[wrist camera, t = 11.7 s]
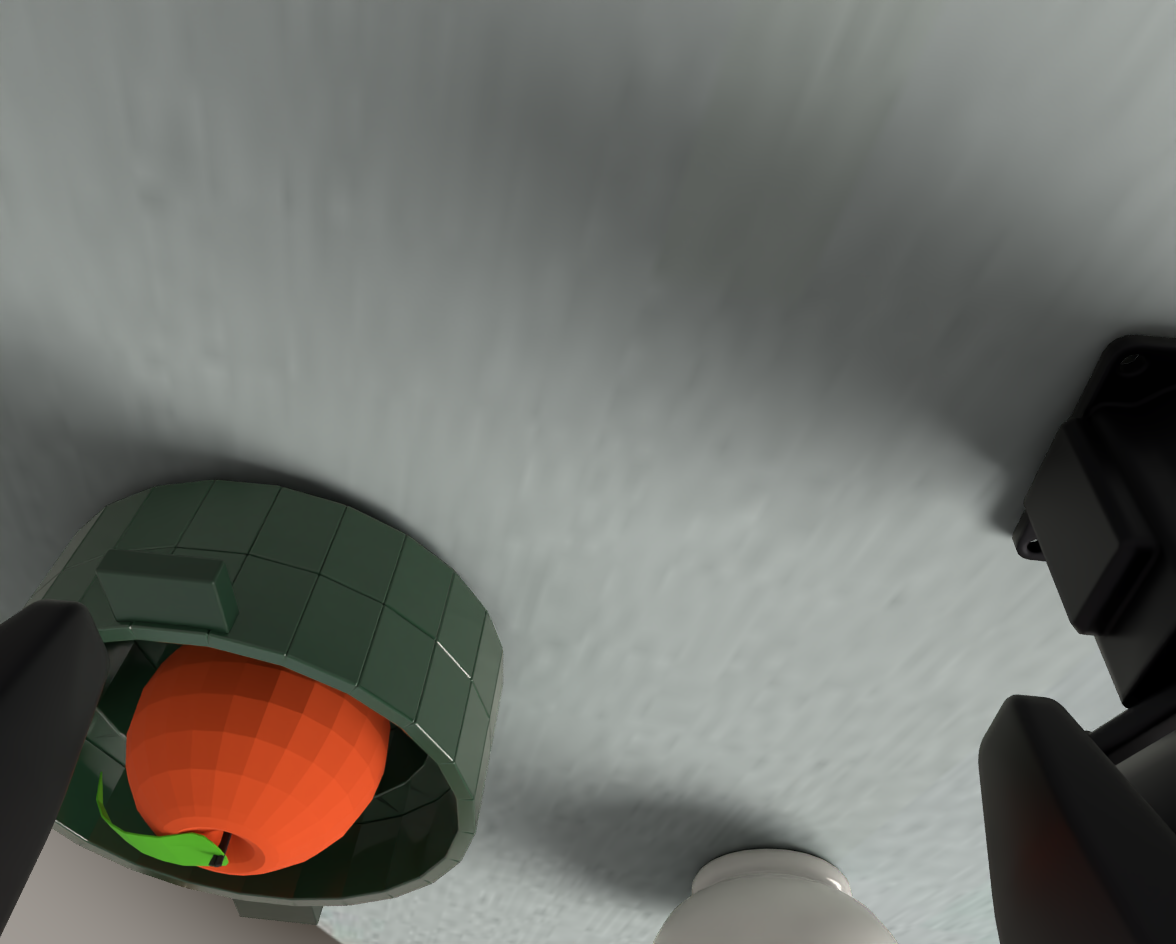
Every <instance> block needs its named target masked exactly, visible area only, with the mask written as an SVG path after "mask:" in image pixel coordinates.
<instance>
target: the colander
mask: <svg viewBox="0 0 1176 944" xmlns="http://www.w3.org/2000/svg"><path fill="white" fill-rule="evenodd" d="M109 549H121V550H131V551H141V552H151V553H161V554H171V555H181V556H190V557H200V558H210V559H220V560H224V561H225V564H226V567H227V571H228V574H229V578H230V581H231V585H232V588H233V592H234V595H235V599H236V602H237V606H238V609H239V615H238V617H237V619H236V621H235V623H234V625H233V627H232V629H231V631H230V632H229V633H223V632H219V631H215V630H209V629H204V628H194V627H184V626H175V625H165V624H155V623H145V622H136V621H134V622H130V621H127V622H116V620H115V617H114V615H113V613H112V610H111V608H110V606H109V603H108V601H107V598H106V596H105V594H104V591H103V589H102V587H101V584H100V582H99V579H98V577H97V575H96V572H95V570H96V567H97V566H98V564H99V563H100V561H101V560H102V558H103V557H104V555H105V553H106V552H107V550H109ZM42 599H55V600H66V601H76V602H80V603H82V604H83V605H85V606H86V607H87V608H88V610H89V611H90V614H91V616H92V618H93V620H94V623H95V625H96V627H97V629H98V631H99V634H100V636H101V638H102V640H103V642H104V645H105V647H106V649H107V652H108V657H109V669H108V674H107V678H106V681H105V684H104V687H103V690H102V692H101V695H100V698H99V701H98V704H97V707H96V709H95V712H94V715H93V718H92V721H91V724H90V726H89V729H88V732H87V735H86V738H85V741H84V743H83V746H82V749H81V752H80V755H79V758H78V760H77V763H76V766H75V769H74V772H73V775H72V777H71V780H70V783H69V786H68V789H67V792H66V794H65V797H64V800H63V802H62V805H61V807H60V810H59V813H58V815H57V818H56V820H55V822H54V825H53V827H52V829H54V830H56V831H57V832H59V833H60V834H62V835H63V836H65V837H67V838H68V839H70V840H71V841H73V842H74V843H76V844H79V846H82V847H84V848H86V849H88V850H90V851H92V852H95V853H97V854H99V855H101V856H103V857H105V858H107V859H109V860H111V861H114V862H116V863H118V864H120V865H122V866H124V867H126V868H130V869H131V870H134V871H137V872H140V873H143V874H146V875H149V876H152V877H155V878H158V879H161V880H164V881H167V882H169V883H173V884H175V885H179V886H181V887H186V888H188V889H193V890H197V891H202V892H207V893H211V894H216V895H220V896H225V897H229V898H233V899H238V900H244V901H253V902H262V903H271V904H280V905H289V906H347V905H355V904H361V903H367V902H373V901H379V900H386V899H392V898H396V897H398V896H401V895H404V894H406V893H409V892H412V891H414V890H417V889H419V888H422V887H425V886H427V885H430V884H432V883H434V882H435V881H437V880H438V879H439V878H440V877H442V876H443V875H444V874H446V873H447V872H448V871H449V870H451V869H452V868H453V867H455V866H456V865H457V864H458V863H460V861H461V860H462V859H463V857H464V855H465V853H466V851H467V849H468V847H469V845H470V843H471V841H472V839H473V837H474V835H475V833H476V829H477V824H478V818H479V813H480V807H481V802H482V796H483V791H484V786H485V780H486V775H487V769H488V764H489V758H490V752H491V747H492V742H493V737H494V731H495V726H496V720H497V715H498V709H499V704H500V699H501V693H502V688H503V650H502V646H501V643H500V641H499V638H498V636H497V633H496V631H495V628H494V626H493V624H492V621H491V619H490V616H489V614H488V611H487V610H486V609H485V607H484V606H483V605H482V604H481V602H480V601H479V600H478V599H477V598H476V596H475V595H474V594H473V593H472V592H471V590H470V589H469V588H468V587H467V585H466V584H465V583H464V582H463V581H462V579H461V578H460V577H459V576H458V574H457V573H456V572H454V570H453V569H452V568H451V567H450V566H448V565H447V564H446V563H444V562H443V561H442V560H440V559H439V558H438V557H436V556H435V555H434V554H433V553H431V552H430V551H429V550H427V549H426V548H425V547H423V546H422V545H421V544H419V543H418V542H417V541H415V540H414V539H413V538H412V537H410V536H409V535H406V534H405V533H403V532H401V531H399V530H397V529H395V528H393V527H391V526H389V525H387V524H385V523H383V522H381V521H379V520H377V519H375V518H373V517H371V516H369V515H367V514H365V513H363V512H361V511H359V510H357V509H355V508H353V507H350V506H347V507H346V505H345V504H342V503H338V502H335V501H331V500H328V499H324V498H321V497H317V496H314V495H311V494H307V493H304V492H300V491H297V490H293V489H290V488H286V487H282V488H281V486H279V485H269V484H259V483H249V482H239V481H228V480H218V479H216V480H204V481H195V482H186V483H177V484H168V485H159V486H156V487H152V488H149V489H147V490H144V491H142V492H139V493H137V494H134V495H132V496H129V497H127V498H124V499H121V500H119V501H116V502H114V503H111V504H109V505H107V506H106V507H104V508H103V509H102V510H101V511H100V512H99V513H98V514H97V515H96V516H94V517H93V518H92V519H91V520H90V521H89V522H88V523H87V524H86V525H84V526H83V527H82V528H81V529H80V530H79V531H78V532H77V533H76V534H75V536H74V537H73V538H72V540H71V541H70V543H69V544H68V545H67V547H66V548H65V550H64V551H63V553H62V554H61V555H60V557H59V558H58V560H57V561H56V562H55V564H54V565H53V567H52V568H51V570H50V571H49V572H48V574H47V575H46V577H45V578H44V579H43V581H42V582H41V584H40V585H39V587H38V588H37V589H36V591H35V592H34V594H33V595H32V597H31V598H30V599H29V601H28V602H27V603H26V605H25V606H24V608H25V607H27V606H28V605H30V604H32V603H34V602H36V601H38V600H42ZM24 608H23V609H24ZM182 645H193V646H203V647H210V648H214V649H218V650H222V651H226V652H230V653H233V654H237V655H241V656H245V657H249V658H253V659H256V660H260V661H264V662H268V663H272V664H276V665H280V666H283V667H285V668H287V669H290V670H292V671H294V672H297V673H299V674H301V675H304V676H306V677H309V678H311V679H313V680H316V681H318V682H320V683H323V684H325V685H327V686H330V687H332V688H334V689H337V690H339V691H341V692H344V693H346V694H348V695H350V696H351V697H353V698H354V699H356V700H357V701H359V702H361V703H362V704H364V705H365V706H367V707H368V708H370V709H372V710H373V711H375V712H376V713H378V714H379V715H381V716H383V717H384V718H386V719H387V720H389V722H390V735H389V743H388V751H387V758H386V764H385V770H384V774H383V776H382V778H381V780H380V783H379V785H378V787H377V790H376V792H375V794H374V796H373V799H372V801H371V802H370V803H369V804H368V806H367V807H366V808H365V810H364V811H363V812H362V814H361V815H360V816H359V817H358V818H357V820H356V821H355V822H354V823H353V825H352V826H351V827H350V828H349V829H348V831H347V832H346V833H345V834H344V836H343V837H341V838H340V839H338V840H337V841H336V842H334V843H333V844H331V845H330V846H328V847H327V848H325V849H324V850H323V851H321V852H320V853H318V854H317V855H315V856H313V857H312V858H310V859H308V860H306V861H305V862H302V863H299V864H295V865H292V866H289V867H286V868H282V869H279V870H276V871H272V872H268V873H264V874H258V875H245V876H242V875H229V874H224V873H218V872H214V871H210V870H207V869H204V868H200V867H198V866H182V865H178V864H174V863H170V862H166V861H162V860H159V859H157V858H154V857H151V856H149V855H146V854H144V853H142V852H140V851H139V850H138V849H136V848H135V847H133V846H132V845H131V844H129V843H128V842H126V841H125V840H124V839H123V838H122V837H121V836H120V835H119V834H118V833H117V832H116V831H114V830H113V829H112V828H111V827H110V826H109V824H108V823H107V822H106V821H105V820H104V819H103V818H102V817H101V814H100V811H99V808H98V804H97V801H96V796H97V790H98V784H99V778H100V772H102V785H103V806H104V808H105V810H106V812H107V814H108V816H109V818H110V820H111V822H112V824H113V825H115V826H117V827H118V828H120V829H122V830H123V831H125V832H130V833H136V834H142V835H152V836H156V835H155V833H154V832H153V831H152V830H151V828H150V827H149V826H148V825H147V823H146V822H145V821H144V819H143V818H142V816H141V815H140V813H139V812H138V810H137V808H136V805H135V801H134V798H133V795H132V792H131V788H130V785H129V782H128V777H127V771H126V740H127V732H128V730H129V727H130V724H131V721H132V718H133V716H134V713H135V710H136V707H137V704H138V702H139V699H140V696H141V693H142V691H143V688H144V687H145V686H146V684H147V683H148V681H149V680H150V679H151V677H152V676H153V675H154V673H155V672H156V671H157V669H158V668H159V667H160V665H161V664H162V663H163V662H164V661H165V660H166V659H167V658H168V657H169V656H170V655H171V654H173V653H174V652H175V651H176V650H177V649H178V648H180V647H181V646H182Z"/></svg>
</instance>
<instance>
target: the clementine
mask: <svg viewBox="0 0 1176 944" xmlns="http://www.w3.org/2000/svg"><path fill="white" fill-rule="evenodd" d="M389 735H390V722H389V720H387V719H386V718H384V717H383V716H381V715H379V714H378V713H376V712H375V711H373V710H372V709H370V708H368V707H367V706H365V705H364V704H362V703H361V702H359V701H357V700H356V699H354V698H353V697H351V696H350V695H348V694H346V693H344V692H341V691H339V690H337V689H334V688H332V687H330V686H327V685H325V684H323V683H320V682H318V681H316V680H313V679H311V678H309V677H306V676H304V675H301V674H299V673H297V672H294V671H292V670H290V669H287V668H285V667H283V666H280V665H276V664H272V663H268V662H264V661H260V660H256V659H253V658H249V657H245V656H241V655H237V654H233V653H230V652H226V651H222V650H218V649H214V648H210V647H203V646H193V645H182V646H181V647H180V648H178V649H177V650H176V651H175V652H174V653H173V654H171V655H170V656H169V657H168V658H167V659H166V660H165V661H164V662H163V663H162V664H161V665H160V667H159V668H158V669H157V671H156V672H155V673H154V675H153V676H152V677H151V679H150V680H149V681H148V683H147V684H146V686H145V687H144V688H143V691H142V693H141V696H140V699H139V702H138V704H137V707H136V710H135V713H134V716H133V718H132V721H131V724H130V727H129V730H128V732H127V740H126V771H127V777H128V782H129V785H130V788H131V792H132V795H133V798H134V801H135V805H136V808H137V810H138V812H139V813H140V815H141V816H142V818H143V819H144V821H145V822H146V823H147V825H148V826H149V827H150V828H151V830H152V831H153V832H154V833H155V835H156V836H152V835H142V834H136V833H130V832H125V831H123V830H122V829H120V828H118V827H117V826H115V825H113V824H112V822H111V820H110V818H109V816H108V814H107V812H106V810H105V808H104V806H103V785H102V772H100V778H99V784H98V790H97V796H96V801H97V804H98V808H99V811H100V814H101V817H102V818H103V819H104V820H105V821H106V822H107V823H108V824H109V826H110V827H111V828H112V829H113V830H114V831H116V832H117V833H118V834H119V835H120V836H121V837H122V838H123V839H124V840H125V841H126V842H128V843H129V844H131V845H132V846H133V847H135V848H136V849H138V850H139V851H140V852H142V853H144V854H146V855H149V856H151V857H154V858H157V859H159V860H162V861H166V862H170V863H174V864H178V865H182V866H198V867H200V868H204V869H207V870H210V871H214V872H218V873H224V874H229V875H242V876H245V875H258V874H264V873H268V872H272V871H276V870H279V869H282V868H286V867H289V866H292V865H295V864H299V863H302V862H305V861H306V860H308V859H310V858H312V857H313V856H315V855H317V854H318V853H320V852H321V851H323V850H324V849H325V848H327V847H328V846H330V845H331V844H333V843H334V842H336V841H337V840H338V839H340V838H341V837H343V836H344V834H345V833H346V832H347V831H348V829H349V828H350V827H351V826H352V825H353V823H354V822H355V821H356V820H357V818H358V817H359V816H360V815H361V814H362V812H363V811H364V810H365V808H366V807H367V806H368V804H369V803H370V802H371V801H372V799H373V796H374V794H375V792H376V790H377V787H378V785H379V783H380V780H381V778H382V776H383V774H384V770H385V764H386V758H387V751H388V743H389Z"/></svg>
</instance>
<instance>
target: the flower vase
mask: <svg viewBox="0 0 1176 944" xmlns="http://www.w3.org/2000/svg"><path fill="white" fill-rule="evenodd" d="M653 944H898V943H897V941H896V940H895V938H894V937H893V935H892V934H891V933H890V931H889V930H888V929H887V928H886V927H885V926H884V925H883V923H882V922H881V921H880V920H879V919H878V918H877V917H876V916H875V915H874V914H873V913H872V912H871V911H870V910H869V909H868V908H867V907H866V906H865V905H863V904H862V903H861V902H859V901H858V900H856V899H854V898H853V897H852V892H851V888H850V885H849V882H848V880H847V878H846V877H845V876H844V875H843V874H842V873H841V871H840V870H839V869H838V868H836V867H835V866H833V865H831V864H830V863H828V862H827V861H825V860H823V859H821V858H818V857H815V856H812V855H809V854H806V853H802V852H796V851H791V850H785V849H766V848H765V849H752V850H743V851H739V852H734V853H730V854H726V855H724V856H721V857H719V858H717V859H714V860H712V861H711V862H709V863H708V864H707V865H705V866H704V867H703V868H701V869H700V870H699V872H698V873H697V875H696V877H695V878H694V880H693V883H692V896H690V897H689V898H688V899H686V900H685V901H683V902H682V903H681V904H680V905H678V906H677V907H676V908H675V909H674V910H673V912H672V913H671V914H670V915H669V917H668V918H667V920H666V921H665V923H664V924H663V926H662V927H661V929H660V931H659V932H658V934H657V936H656V938H655V939H654V941H653Z"/></svg>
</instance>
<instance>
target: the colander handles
mask: <svg viewBox="0 0 1176 944" xmlns="http://www.w3.org/2000/svg"><path fill="white" fill-rule="evenodd" d="M95 572H96V575H97V577H98V579H99V582H100V584H101V587H102V589H103V591H104V594H105V596H106V598H107V601H108V603H109V606H110V608H111V610H112V613H113V615H114V617H115V620H116V622H127V621H130V622H134V621H136V622H145V623H155V624H165V625H175V626H184V627H194V628H204V629H209V630H215V631H219V632H223V633H229V632H230V631H231V629H232V627H233V625H234V623H235V621H236V619H237V617H238V615H239V609H238V606H237V602H236V599H235V595H234V592H233V588H232V585H231V581H230V578H229V574H228V571H227V567H226V564H225V561H224V560H220V559H210V558H200V557H190V556H181V555H171V554H161V553H151V552H141V551H131V550H121V549H109V550H107V552H106V553H105V555H104V557H103V558H102V560H101V561H100V563H99V564H98V566H97V567H96V570H95ZM232 899H233V898H232ZM233 901H234V903H235V906H236V909H237V911H238V913H239V916H240V917H248V918H258V919H267V920H276V921H285V922H294V923H303V924H312V925H317V924H318V921H319V918H320V915H321V911H322V908H323V906H289V905H280V904H271V903H262V902H253V901H244V900H238V899H233Z"/></svg>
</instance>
